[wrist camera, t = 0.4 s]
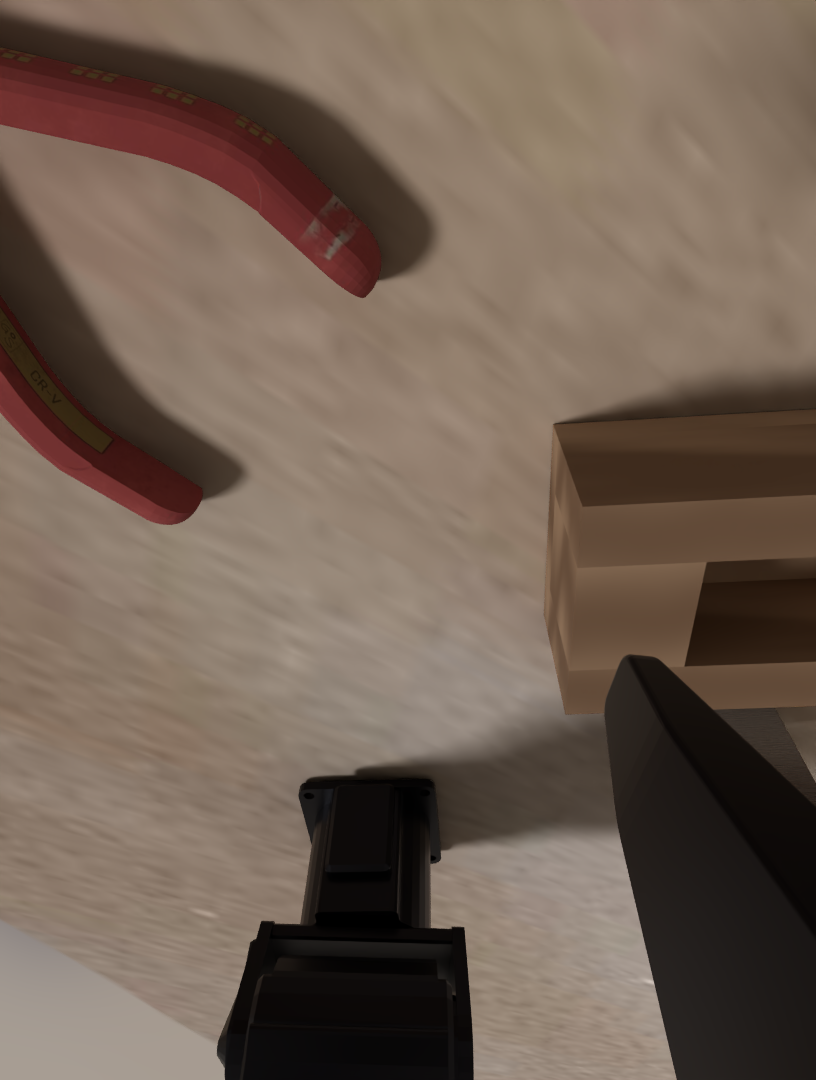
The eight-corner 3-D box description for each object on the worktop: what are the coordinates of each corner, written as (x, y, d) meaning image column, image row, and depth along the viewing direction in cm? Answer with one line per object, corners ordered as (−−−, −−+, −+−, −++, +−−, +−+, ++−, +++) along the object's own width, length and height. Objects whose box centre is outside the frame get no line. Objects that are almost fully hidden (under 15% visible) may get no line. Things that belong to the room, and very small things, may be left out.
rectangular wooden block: (920, 598, 26) (1015, 699, 21) (543, 613, 26) (565, 714, 22) (1011, 397, 21) (1153, 477, 17) (553, 424, 22) (582, 506, 18)
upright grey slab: (757, 725, 30) (850, 911, 23) (640, 729, 30) (700, 914, 24) (767, 693, 29) (868, 880, 22) (646, 698, 29) (710, 882, 22)
